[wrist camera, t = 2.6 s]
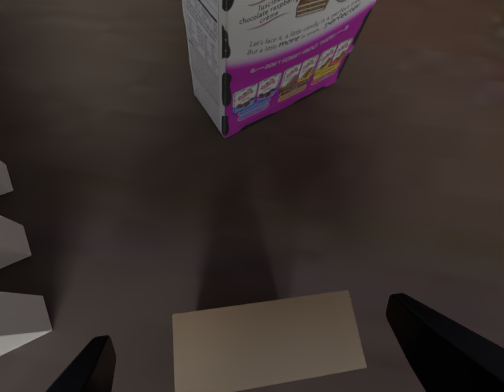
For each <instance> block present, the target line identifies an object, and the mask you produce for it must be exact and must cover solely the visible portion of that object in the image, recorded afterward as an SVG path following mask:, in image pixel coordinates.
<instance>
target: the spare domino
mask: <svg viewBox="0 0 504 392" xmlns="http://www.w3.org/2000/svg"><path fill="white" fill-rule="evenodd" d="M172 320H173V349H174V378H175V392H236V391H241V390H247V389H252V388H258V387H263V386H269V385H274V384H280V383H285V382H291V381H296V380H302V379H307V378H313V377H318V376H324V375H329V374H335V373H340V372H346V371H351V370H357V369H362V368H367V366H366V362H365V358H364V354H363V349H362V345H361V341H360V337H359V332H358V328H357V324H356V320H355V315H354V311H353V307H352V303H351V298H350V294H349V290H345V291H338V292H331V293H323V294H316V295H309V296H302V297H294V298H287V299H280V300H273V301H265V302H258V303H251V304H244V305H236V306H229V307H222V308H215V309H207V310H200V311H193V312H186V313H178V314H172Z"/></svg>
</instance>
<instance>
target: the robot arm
mask: <svg viewBox="0 0 504 392" xmlns="http://www.w3.org/2000/svg"><path fill="white" fill-rule="evenodd" d="M386 317H387V320H388V322H389V324H390V326H391V328H392V330H393V332H394V334H395V336H396V338H397V340H398V342H399V344H400V346H401V348H402V350H403V352H404V354H405V356H406V358H407V360H408V362H409V364H410V366H411V367H412V369H413V371H414V372H415V374H416V376H417V377H418V379H419V381H420V382H421V384H422V386H423V387H424V389H425V390H426V392H504V348H502V347H500V346H498V345H497V344H495V343H493V342H491V341H489V340H487V339H486V338H484V337H482V336H480V335H478V334H477V333H475V332H473V331H471V330H469V329H468V328H466V327H464V326H462V325H460V324H458V323H457V322H455V321H453V320H451V319H449V318H448V317H446V316H444V315H442V314H440V313H439V312H437V311H435V310H433V309H431V308H429V307H428V306H426V305H424V304H422V303H420V302H419V301H417V300H415V299H413V298H411V297H410V296H408V295H406V294H404V293H397V294H392V295H391V296H390V297H389V301H388V305H387V310H386ZM115 363H116V354H115V351H114V347H113V344H112V340H111V338H110V336H108V335H105V336H98V337H95V338H93V339H92V340H91V341H90V342H89V343H88V344H87V346H86V347H85V348H84V349H83V350H82V351H81V352H80V353H79V354H78V356H77V357H76V358H75V359H74V360H73V361H72V362H71V363H70V365H69V366H68V367H67V368H66V369H65V370H64V371H63V372H62V373H61V375H60V376H59V377H58V378H57V379H56V380H55V381H54V382H53V384H52V385H51V386H50V387H49V388H48V389H47V390H46V391H45V392H111V390H112V384H113V377H114V370H115Z"/></svg>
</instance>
